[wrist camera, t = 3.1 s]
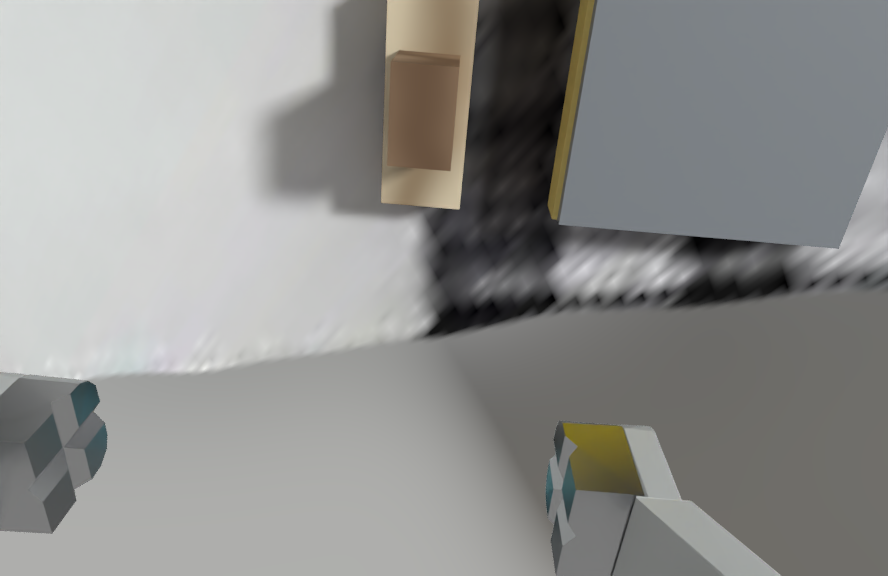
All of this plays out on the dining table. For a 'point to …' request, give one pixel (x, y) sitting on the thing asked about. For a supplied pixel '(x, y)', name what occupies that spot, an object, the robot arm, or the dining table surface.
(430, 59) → the brown box
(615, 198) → the dock
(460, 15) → the tan stepped block
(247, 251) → the dining table surface
